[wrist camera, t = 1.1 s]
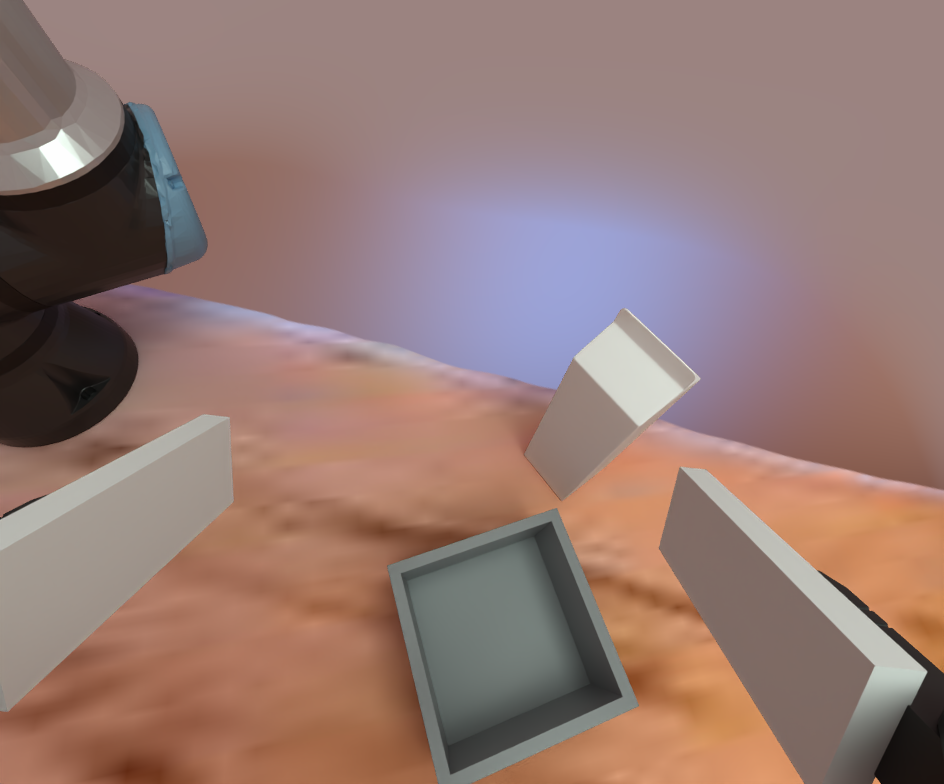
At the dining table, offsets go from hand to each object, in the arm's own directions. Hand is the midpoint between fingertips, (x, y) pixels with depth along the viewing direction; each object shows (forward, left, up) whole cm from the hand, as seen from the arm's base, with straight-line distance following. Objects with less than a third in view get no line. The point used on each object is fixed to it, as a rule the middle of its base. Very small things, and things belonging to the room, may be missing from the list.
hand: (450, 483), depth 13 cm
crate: (+6, +3, -30) cm, 30 cm away
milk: (-6, +15, -30) cm, 34 cm away
